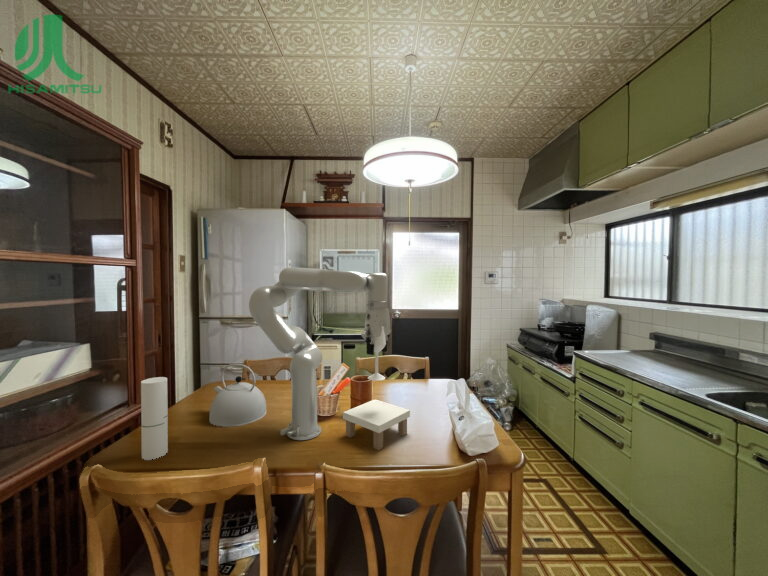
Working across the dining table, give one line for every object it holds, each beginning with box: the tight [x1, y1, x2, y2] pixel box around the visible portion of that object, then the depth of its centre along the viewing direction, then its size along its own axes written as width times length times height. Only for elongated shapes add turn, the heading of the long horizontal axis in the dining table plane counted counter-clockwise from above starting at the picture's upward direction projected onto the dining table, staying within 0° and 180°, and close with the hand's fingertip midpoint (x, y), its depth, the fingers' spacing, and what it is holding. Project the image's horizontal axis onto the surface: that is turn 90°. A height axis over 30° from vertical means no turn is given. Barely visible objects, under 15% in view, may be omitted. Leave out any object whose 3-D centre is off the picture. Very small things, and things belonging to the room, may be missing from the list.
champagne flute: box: [367, 326, 386, 382], centre depth 122 cm, size 7×7×24 cm
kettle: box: [209, 363, 267, 428], centre depth 140 cm, size 25×23×22 cm
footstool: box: [342, 399, 411, 451], centre depth 122 cm, size 18×18×9 cm
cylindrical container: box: [140, 376, 169, 461], centre depth 108 cm, size 7×7×25 cm
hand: (376, 352), depth 122 cm, fingers closed on champagne flute, 6 cm apart
